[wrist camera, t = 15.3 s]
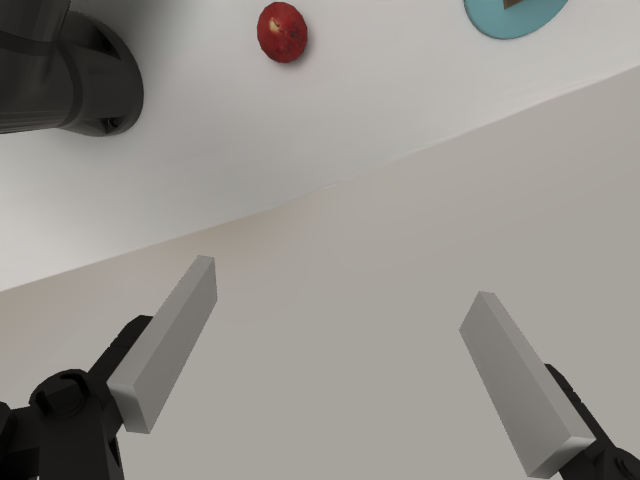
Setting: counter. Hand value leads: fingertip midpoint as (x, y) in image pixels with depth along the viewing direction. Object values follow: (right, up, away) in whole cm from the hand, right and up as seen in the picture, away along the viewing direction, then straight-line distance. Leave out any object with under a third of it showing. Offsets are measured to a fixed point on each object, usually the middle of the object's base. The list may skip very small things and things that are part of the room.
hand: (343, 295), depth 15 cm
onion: (-5, +29, +23) cm, 37 cm away
